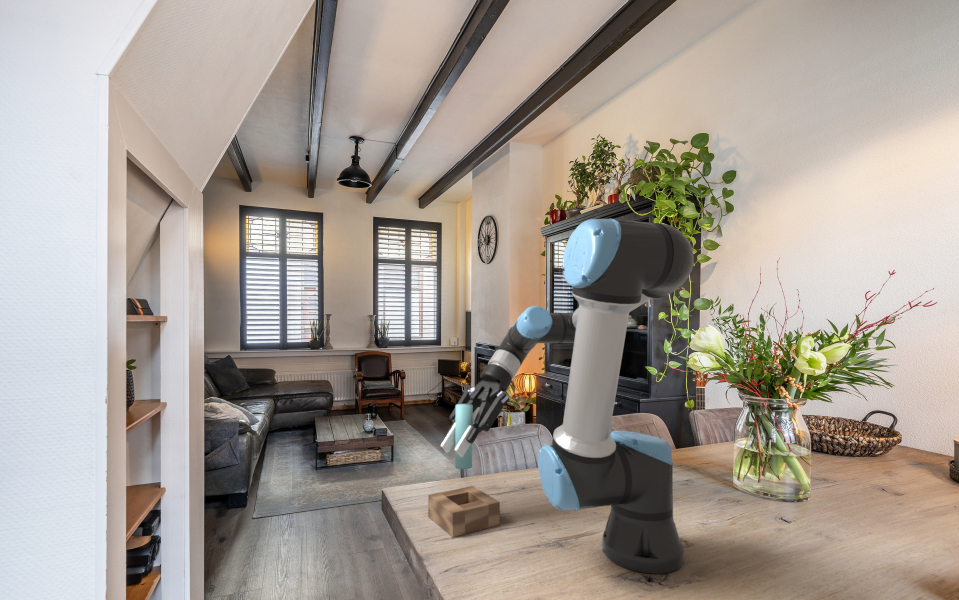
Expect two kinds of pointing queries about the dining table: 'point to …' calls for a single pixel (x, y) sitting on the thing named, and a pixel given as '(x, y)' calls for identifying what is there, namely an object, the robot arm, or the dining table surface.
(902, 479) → the dining table surface
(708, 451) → the dining table surface
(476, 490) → the socket block
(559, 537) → the dining table surface
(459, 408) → the dowel
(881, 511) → the dining table surface
